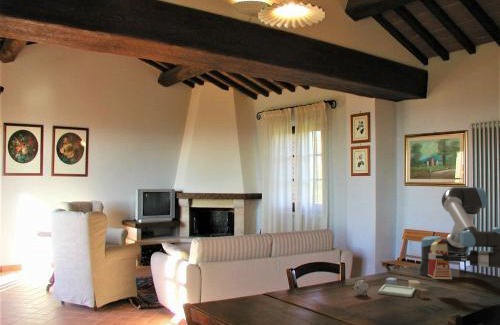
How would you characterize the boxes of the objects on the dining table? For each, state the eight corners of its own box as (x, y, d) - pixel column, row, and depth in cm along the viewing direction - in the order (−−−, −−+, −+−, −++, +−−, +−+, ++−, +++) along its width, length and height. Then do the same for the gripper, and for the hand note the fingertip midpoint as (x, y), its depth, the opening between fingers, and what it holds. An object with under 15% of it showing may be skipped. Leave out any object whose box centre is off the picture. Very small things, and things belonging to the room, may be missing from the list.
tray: (384, 287, 246) (384, 284, 246) (415, 290, 239) (415, 287, 239) (378, 293, 232) (378, 290, 232) (411, 297, 225) (411, 294, 225)
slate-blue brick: (389, 284, 253) (389, 277, 253) (396, 285, 250) (396, 278, 251) (385, 286, 248) (385, 279, 248) (393, 287, 246) (393, 280, 246)
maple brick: (408, 287, 246) (408, 280, 246) (418, 288, 245) (417, 280, 245) (410, 289, 241) (410, 282, 241) (420, 290, 240) (420, 282, 240)
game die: (364, 303, 226) (371, 290, 221) (348, 296, 228) (354, 283, 222) (367, 291, 234) (374, 278, 228) (351, 284, 235) (357, 271, 230)
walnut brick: (416, 296, 227) (416, 288, 227) (423, 296, 228) (423, 288, 228) (421, 298, 223) (421, 290, 223) (428, 298, 224) (428, 290, 224)
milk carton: (452, 279, 226) (451, 238, 226) (433, 278, 226) (433, 238, 226) (444, 275, 235) (444, 236, 235) (426, 274, 235) (426, 236, 235)
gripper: (478, 270, 213) (427, 265, 223) (478, 262, 232) (431, 258, 242) (478, 254, 213) (427, 250, 223) (478, 247, 232) (431, 244, 242)
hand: (429, 254), depth 233 cm, fingers closed on milk carton, 9 cm apart
